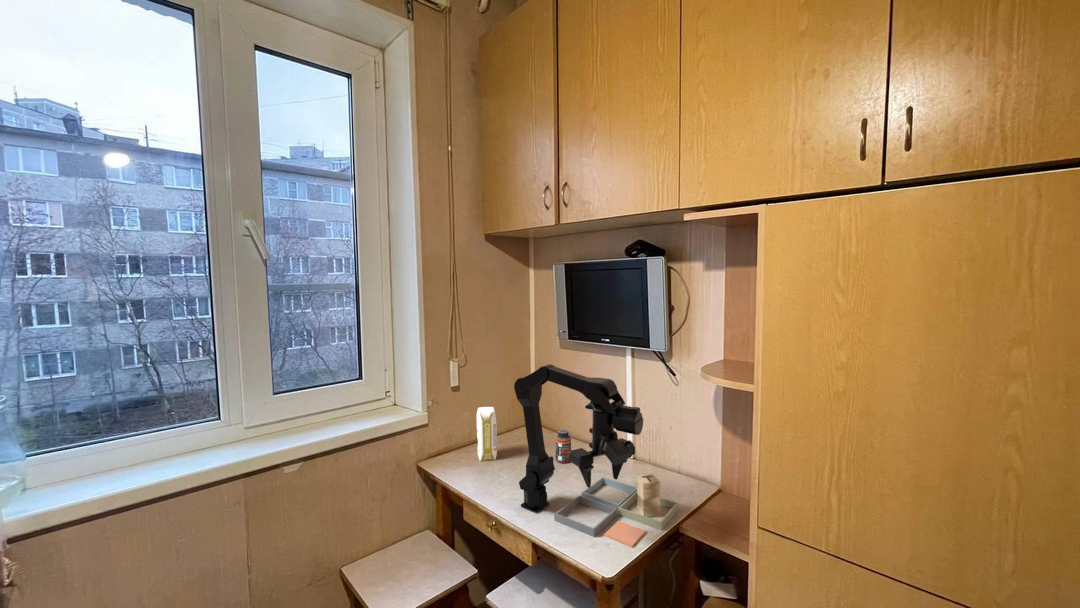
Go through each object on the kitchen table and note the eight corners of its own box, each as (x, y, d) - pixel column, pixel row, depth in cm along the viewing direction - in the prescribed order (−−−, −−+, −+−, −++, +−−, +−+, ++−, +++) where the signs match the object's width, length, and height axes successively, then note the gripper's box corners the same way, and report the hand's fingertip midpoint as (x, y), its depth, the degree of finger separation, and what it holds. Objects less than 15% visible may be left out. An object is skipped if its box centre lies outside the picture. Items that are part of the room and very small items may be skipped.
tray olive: (618, 514, 121) (618, 507, 120) (637, 496, 131) (637, 490, 131) (661, 530, 112) (661, 522, 112) (678, 509, 123) (678, 502, 123)
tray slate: (581, 498, 130) (581, 492, 130) (602, 482, 140) (602, 476, 140) (619, 511, 122) (618, 505, 122) (638, 493, 132) (638, 487, 132)
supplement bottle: (562, 465, 155) (561, 435, 154) (552, 459, 159) (552, 430, 159) (574, 460, 158) (574, 431, 158) (564, 455, 163) (564, 427, 163)
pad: (604, 536, 110) (604, 534, 110) (618, 522, 117) (618, 520, 117) (632, 547, 105) (632, 545, 105) (645, 532, 112) (645, 530, 112)
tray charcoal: (554, 520, 118) (554, 513, 118) (579, 501, 128) (579, 495, 128) (594, 536, 110) (593, 529, 110) (617, 515, 120) (617, 508, 120)
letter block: (643, 517, 119) (643, 482, 118) (637, 508, 124) (637, 475, 123) (660, 516, 119) (660, 481, 119) (653, 507, 124) (653, 473, 124)
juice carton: (496, 452, 168) (495, 405, 167) (497, 460, 160) (496, 411, 159) (477, 453, 167) (476, 406, 166) (477, 462, 158) (476, 413, 158)
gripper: (593, 443, 100) (592, 506, 101) (650, 430, 110) (649, 487, 111) (567, 429, 110) (567, 486, 111) (621, 417, 119) (621, 470, 120)
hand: (602, 483), depth 113 cm, fingers open, 9 cm apart
